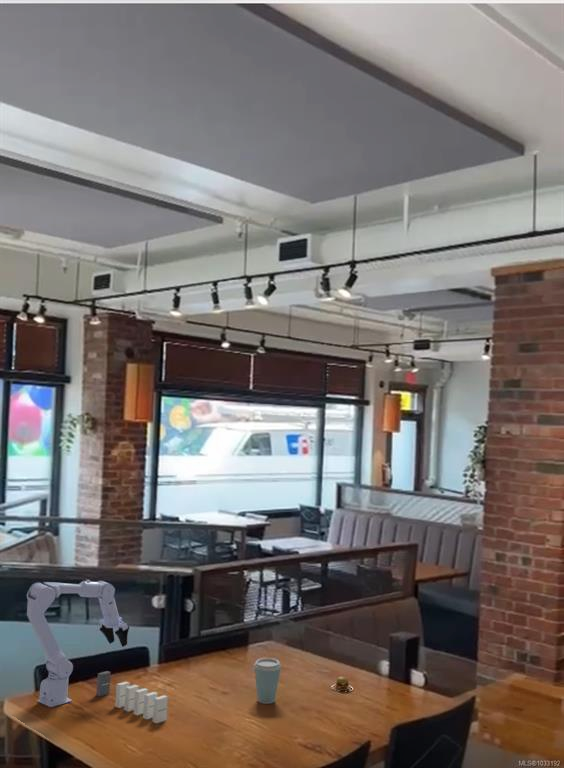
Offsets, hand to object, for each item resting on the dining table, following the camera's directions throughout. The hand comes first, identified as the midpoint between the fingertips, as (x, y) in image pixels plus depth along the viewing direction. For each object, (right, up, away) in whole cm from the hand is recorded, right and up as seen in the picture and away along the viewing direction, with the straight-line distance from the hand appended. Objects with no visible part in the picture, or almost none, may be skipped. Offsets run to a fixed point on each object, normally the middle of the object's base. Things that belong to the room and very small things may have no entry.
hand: (118, 643), depth 295 cm
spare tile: (-4, -17, -7) cm, 19 cm away
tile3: (+9, -17, -21) cm, 28 cm away
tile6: (+21, -17, -30) cm, 40 cm away
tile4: (+13, -17, -24) cm, 32 cm away
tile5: (+17, -17, -27) cm, 36 cm away
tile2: (+5, -16, -18) cm, 25 cm away
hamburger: (+88, -25, +16) cm, 93 cm away
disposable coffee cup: (+57, -21, -4) cm, 61 cm away
